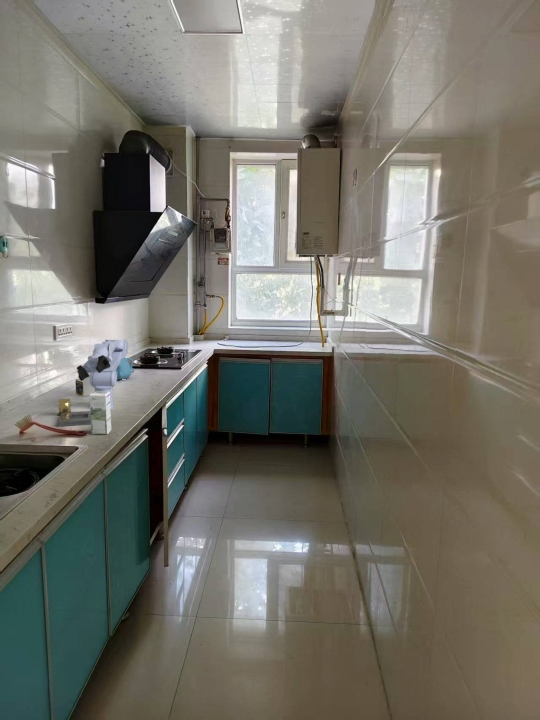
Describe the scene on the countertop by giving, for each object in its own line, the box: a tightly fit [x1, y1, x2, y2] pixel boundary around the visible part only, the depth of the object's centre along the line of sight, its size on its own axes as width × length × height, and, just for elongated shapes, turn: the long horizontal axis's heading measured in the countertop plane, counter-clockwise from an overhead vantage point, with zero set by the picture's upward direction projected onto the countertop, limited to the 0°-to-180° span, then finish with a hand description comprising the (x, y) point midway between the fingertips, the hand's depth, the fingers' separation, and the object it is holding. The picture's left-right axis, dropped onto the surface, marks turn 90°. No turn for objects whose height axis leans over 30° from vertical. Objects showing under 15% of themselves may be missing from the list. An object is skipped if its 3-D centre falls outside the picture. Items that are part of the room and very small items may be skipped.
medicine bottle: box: [74, 372, 95, 397], centre depth 239 cm, size 7×7×12 cm
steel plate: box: [57, 410, 91, 428], centre depth 195 cm, size 14×14×2 cm
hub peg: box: [57, 397, 72, 417], centre depth 203 cm, size 4×4×6 cm
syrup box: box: [89, 392, 112, 435], centre depth 181 cm, size 6×6×14 cm
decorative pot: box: [116, 357, 135, 380], centre depth 274 cm, size 16×16×14 cm
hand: (89, 374), depth 192 cm, fingers open, 7 cm apart
